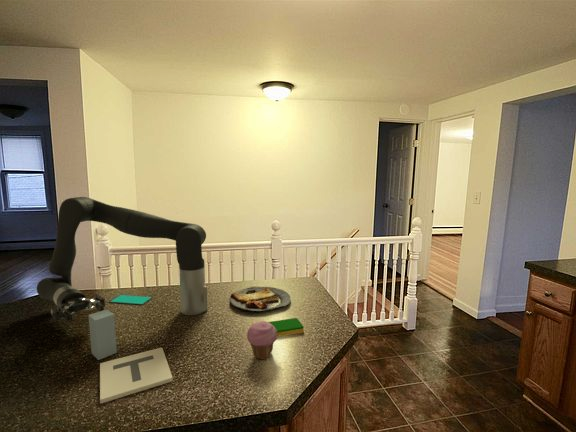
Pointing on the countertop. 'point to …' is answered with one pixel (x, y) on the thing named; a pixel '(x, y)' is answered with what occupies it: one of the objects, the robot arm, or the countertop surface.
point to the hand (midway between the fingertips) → (86, 313)
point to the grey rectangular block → (102, 334)
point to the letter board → (133, 374)
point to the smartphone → (131, 300)
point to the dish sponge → (288, 326)
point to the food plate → (259, 298)
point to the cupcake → (262, 338)
